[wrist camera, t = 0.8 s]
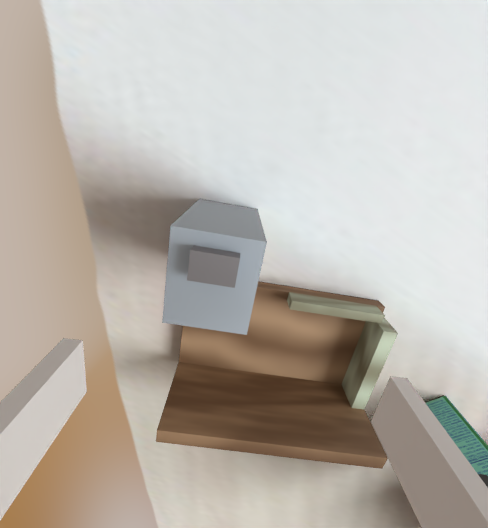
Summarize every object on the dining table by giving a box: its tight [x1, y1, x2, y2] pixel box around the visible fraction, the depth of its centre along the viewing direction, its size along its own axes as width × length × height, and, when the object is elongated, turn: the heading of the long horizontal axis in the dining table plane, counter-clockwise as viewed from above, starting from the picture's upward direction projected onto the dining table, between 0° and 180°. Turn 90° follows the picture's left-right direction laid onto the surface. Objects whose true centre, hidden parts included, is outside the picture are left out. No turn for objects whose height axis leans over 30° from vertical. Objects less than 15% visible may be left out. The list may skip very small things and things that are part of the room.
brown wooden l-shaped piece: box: [156, 282, 398, 468], centre depth 29 cm, size 13×22×10 cm, turn 80°
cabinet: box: [162, 199, 267, 335], centre depth 23 cm, size 7×6×13 cm
